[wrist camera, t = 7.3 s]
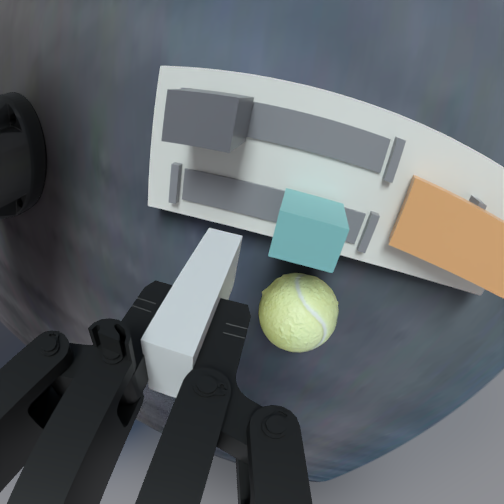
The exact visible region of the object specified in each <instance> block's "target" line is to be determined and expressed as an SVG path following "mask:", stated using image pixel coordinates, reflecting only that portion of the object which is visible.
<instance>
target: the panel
mask: <svg viewBox="0 0 504 504" xmlns="http://www.w3.org/2000/svg"><path fill="white" fill-rule="evenodd" d="M167 89H201V90H210V91H217V92H225V93H231V94H238V95H244V96H250V97H254V101H253V106H252V111H251V116H250V121H249V127H248V132H247V137H246V141H245V142H244V143H243V144H241V145H240V146H239V147H237V148H236V149H234V150H233V151H232V152H230V153H226V152H221V151H216V150H211V149H206V148H200V147H194V146H189V145H183V144H177V143H170V142H164V141H161V140H162V130H163V121H164V112H165V104H166V97H167ZM413 175H416V176H418V177H420V178H422V179H425V180H427V181H429V182H431V183H433V184H436V185H438V186H440V187H442V188H444V189H446V190H448V191H450V192H452V193H454V194H456V195H458V196H460V197H462V198H464V199H466V200H468V201H470V202H472V203H473V204H475V205H477V206H479V207H481V208H483V209H484V210H486V211H488V212H490V213H492V214H493V215H495V216H497V217H498V218H500V219H502V220H503V221H504V167H502V166H501V165H499V164H497V163H496V162H494V161H493V160H491V159H489V158H488V157H486V156H484V155H482V154H481V153H479V152H477V151H475V150H473V149H472V148H470V147H468V146H466V145H464V144H462V143H460V142H459V141H457V140H455V139H453V138H451V137H449V136H447V135H445V134H442V133H440V132H438V131H436V130H434V129H432V128H430V127H427V126H425V125H423V124H421V123H418V122H416V121H414V120H411V119H409V118H406V117H404V116H401V115H399V114H396V113H394V112H391V111H389V110H386V109H383V108H380V107H378V106H375V105H372V104H369V103H366V102H363V101H360V100H357V99H354V98H351V97H347V96H344V95H341V94H337V93H334V92H330V91H327V90H323V89H319V88H315V87H311V86H307V85H303V84H299V83H294V82H290V81H285V80H280V79H275V78H270V77H264V76H259V75H253V74H246V73H240V72H232V71H224V70H216V69H206V68H194V67H178V66H160V72H159V79H158V86H157V93H156V101H155V109H154V119H153V128H152V140H151V152H150V167H149V187H148V206H151V207H155V208H159V209H163V210H168V211H172V212H176V213H180V214H184V215H188V216H192V217H196V218H200V219H204V220H208V221H212V222H216V223H220V224H224V225H228V226H232V227H236V228H240V229H244V230H248V231H252V232H255V233H259V234H263V235H267V236H271V237H273V235H274V231H275V227H276V223H277V219H278V215H279V211H280V207H281V204H282V200H283V197H284V193H285V190H286V188H288V189H292V190H296V191H299V192H303V193H307V194H311V195H314V196H318V197H321V198H325V199H328V200H332V201H335V202H339V203H342V204H344V208H345V213H346V217H347V221H348V225H349V232H348V235H347V238H346V240H345V243H344V246H343V248H342V251H341V253H340V255H342V256H345V257H349V258H353V259H356V260H360V261H363V262H367V263H370V264H374V265H378V266H381V267H385V268H388V269H392V270H395V271H399V272H402V273H406V274H409V275H413V276H416V277H419V278H423V279H426V280H430V281H433V282H436V283H440V284H443V285H447V286H450V287H453V288H457V289H460V290H463V291H467V292H470V293H473V294H476V295H480V296H481V294H482V293H483V291H484V288H482V287H480V286H478V285H476V284H474V283H472V282H470V281H468V280H466V279H464V278H461V277H459V276H457V275H455V274H453V273H451V272H449V271H447V270H444V269H442V268H440V267H438V266H436V265H434V264H431V263H429V262H427V261H425V260H423V259H420V258H418V257H416V256H414V255H411V254H409V253H407V252H404V251H402V250H400V249H397V248H395V247H393V246H390V245H389V236H390V234H391V232H392V229H393V227H394V224H395V222H396V220H397V217H398V215H399V212H400V210H401V207H402V204H403V202H404V199H405V197H406V194H407V191H408V189H409V186H410V183H411V180H412V177H413Z"/></svg>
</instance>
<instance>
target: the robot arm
mask: <svg viewBox="0 0 504 504" xmlns="http://www.w3.org/2000/svg"><path fill="white" fill-rule="evenodd" d="M45 172H46V154H45V144H44V138H43V133H42V129H41V126H40V122H39V120H38V117H37V115H36V112H35V110H34V109H33V107H32V105H31V104H30V102H29V101H28V100H27V99H26V98H25V97H24V96H22V95H21V94H19V93H15V92H10V93H6V94H2V95H0V219H3V218H8V217H13V216H17V215H19V214H21V213H23V212H24V211H26V210H27V209H29V208H31V207H32V206H33V205H34V204H35V203H36V202H37V201H38V199H39V197H40V195H41V192H42V189H43V186H44V181H45ZM242 237H243V236H241V235H237V234H233V233H229V232H225V231H221V230H216V229H212V228H209V229H208V230H207V232H206V234H205V235H204V237H203V238H202V240H201V241H200V243H199V244H198V246H197V248H196V249H195V251H194V252H193V254H192V255H191V257H190V259H189V260H188V262H187V263H186V265H185V267H184V268H183V270H182V271H181V273H180V275H179V276H178V278H177V279H176V281H175V283H174V284H173V286H172V285H169V284H166V283H162V282H159V281H154V282H152V283H151V284H149V285H148V286H146V287H145V288H144V289H143V291H142V292H141V293H140V295H139V296H138V299H136V301H135V302H134V303H133V306H132V307H131V308H130V309H129V311H128V312H127V314H126V315H125V317H124V318H123V320H122V321H119V320H115V319H101V320H99V321H97V322H94V323H93V324H92V325H91V326H90V327H89V328H88V329H89V333H90V336H91V339H92V342H93V345H82V344H73V343H69V341H68V339H67V338H66V337H65V335H64V334H62V333H60V332H58V331H47V332H44V333H42V334H41V335H39V336H38V337H36V338H35V339H34V340H33V341H32V342H31V343H29V344H28V345H27V346H26V347H25V348H24V349H22V350H21V351H20V352H19V353H18V354H17V355H16V356H14V357H13V358H12V359H11V360H10V361H9V362H8V363H7V364H6V365H4V366H3V367H2V368H1V369H0V492H1V491H2V490H3V489H4V487H5V486H6V485H7V484H8V483H9V482H10V481H11V480H12V479H13V478H14V476H15V475H16V474H17V473H18V472H19V471H20V470H21V469H22V467H24V468H23V470H22V472H21V474H20V476H19V478H18V480H17V482H16V485H15V487H14V489H13V491H12V493H11V496H10V498H9V500H8V503H7V504H100V501H101V499H102V496H103V494H104V491H105V489H106V486H107V484H108V481H109V479H110V476H111V474H112V472H113V469H114V467H115V465H116V462H117V460H118V457H119V455H120V453H121V451H122V448H123V446H124V444H125V441H126V439H127V437H128V435H129V432H130V430H131V428H132V425H133V423H134V421H135V419H136V416H137V414H138V412H139V410H140V408H141V405H142V403H143V399H144V395H143V390H144V388H145V386H146V384H147V382H148V385H149V389H152V390H154V391H157V392H160V393H163V394H166V395H169V396H172V397H175V398H176V399H175V402H174V405H173V407H172V410H171V412H170V415H169V417H168V420H167V422H166V425H165V427H164V430H163V432H162V435H161V438H160V440H159V443H158V445H157V448H156V451H155V453H154V456H153V458H152V461H151V464H150V466H149V469H148V471H147V474H146V477H145V479H144V482H143V485H142V487H141V490H140V492H139V495H138V498H137V500H136V503H135V504H200V502H201V498H202V495H203V491H204V488H205V484H206V481H207V477H208V474H209V470H210V467H211V463H212V460H213V456H214V453H215V449H216V447H218V448H220V449H221V450H223V451H225V452H226V453H228V454H230V455H232V456H233V457H235V458H236V469H237V470H236V471H237V490H238V504H312V499H311V492H310V486H309V479H308V473H307V467H306V460H305V454H304V448H303V442H302V436H301V430H300V425H299V422H298V420H297V417H296V416H295V415H294V414H293V413H292V412H291V411H290V410H288V409H286V408H284V407H282V406H275V405H270V406H265V407H262V406H261V405H259V404H257V403H255V402H253V401H252V400H250V399H248V398H247V397H246V396H244V395H243V393H242V392H241V391H240V390H239V388H238V386H237V383H236V372H237V368H238V364H239V360H240V356H241V353H242V349H243V345H244V341H245V337H246V333H247V329H248V325H249V322H250V318H251V315H250V312H249V308H248V305H246V304H242V303H238V302H234V301H230V300H228V299H229V296H230V293H231V290H232V288H233V285H234V280H235V274H236V269H237V263H238V258H239V253H240V247H241V242H242ZM24 465H25V466H24Z"/></svg>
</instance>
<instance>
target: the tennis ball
mask: <svg viewBox="0 0 504 504" xmlns="http://www.w3.org/2000/svg"><path fill="white" fill-rule="evenodd" d="M338 304H339V303H338V301H337V299H336V296H335V295H334V293H333V291H332V289H331V288H330V287H329V286H328V285H327V284H326V283H325V282H324V281H323V280H320V279H319V278H318V277H315V276H311V275H306V274H303V273H289V274H285V275H284V274H283V276H282V277H280V278H277V279H275V281H273V283H271V285H270V286H268V288H266V289H265V290H263V291H262V299H261V301H260V304H259V312H258V313H259V320H260V325H261V328H262V330H263V332H264V334H265V335H266V337H267V338H268V339H269V340H270V342H271V343H273V344H274V345H275V346H277V347H279V348H281V349H284V350H286V351H290V352H305V351H308V350H312V349H315V348H317V347H319V346H320V345H322V344H323V343H324V342H326V341H327V340H328V338H329V337H330V336H331V334H332V333H333V331H334V329H335V327H336V324H337V318H338V312H339V310H338Z"/></svg>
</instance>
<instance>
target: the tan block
mask: <svg viewBox="0 0 504 504" xmlns="http://www.w3.org/2000/svg"><path fill="white" fill-rule="evenodd" d="M389 245H390V246H393V247H395V248H397V249H400V250H402V251H404V252H407V253H409V254H411V255H414V256H416V257H418V258H420V259H423V260H425V261H427V262H429V263H431V264H434V265H436V266H438V267H440V268H442V269H444V270H447V271H449V272H451V273H453V274H455V275H457V276H459V277H461V278H464V279H466V280H468V281H470V282H472V283H474V284H476V285H478V286H480V287H482V288H484V289H486V290H488V291H490V292H492V293H494V294H496V295H498V296H500V297H502V298H504V221H503V220H502V219H500V218H498V217H497V216H495V215H493V214H492V213H490V212H488V211H486V210H484V209H483V208H481V207H479V206H477V205H475V204H473V203H472V202H470V201H468V200H466V199H464V198H462V197H460V196H458V195H456V194H454V193H452V192H450V191H448V190H446V189H444V188H442V187H440V186H438V185H436V184H433V183H431V182H429V181H427V180H425V179H422V178H420V177H418V176H416V175H413V177H412V180H411V183H410V186H409V189H408V191H407V194H406V197H405V199H404V202H403V204H402V207H401V210H400V212H399V215H398V217H397V220H396V222H395V224H394V227H393V229H392V232H391V234H390V236H389Z"/></svg>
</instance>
